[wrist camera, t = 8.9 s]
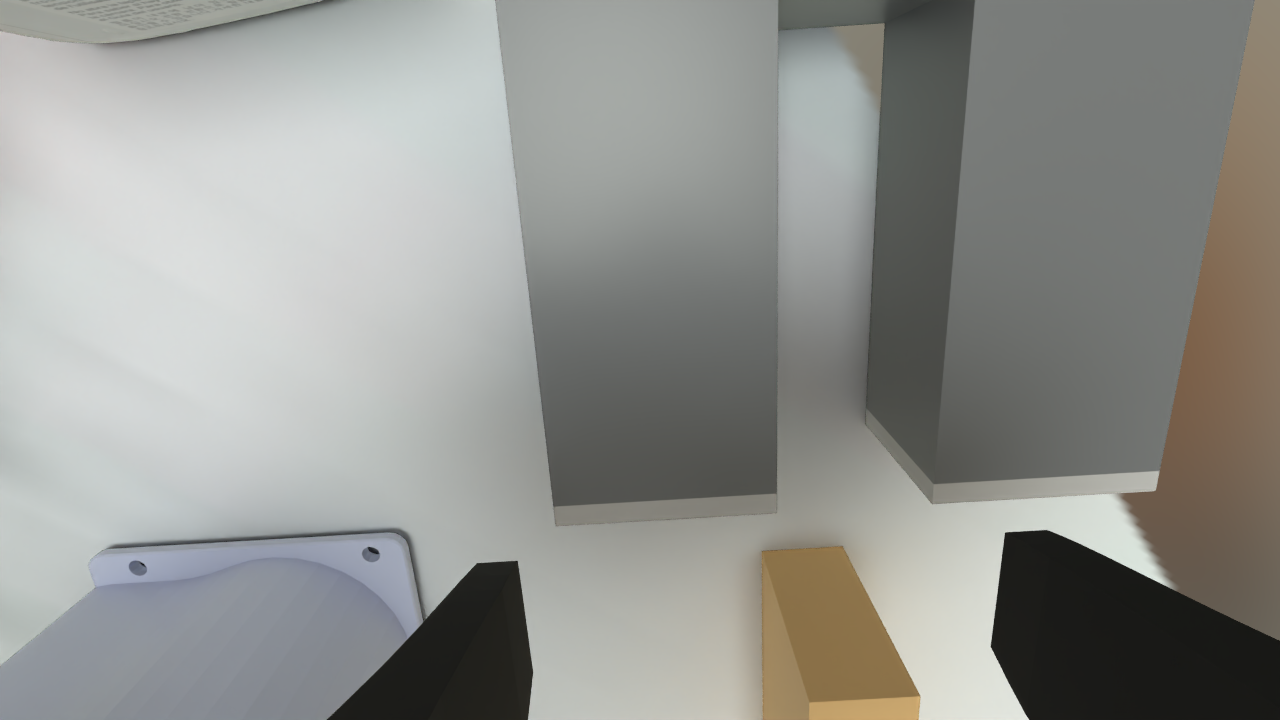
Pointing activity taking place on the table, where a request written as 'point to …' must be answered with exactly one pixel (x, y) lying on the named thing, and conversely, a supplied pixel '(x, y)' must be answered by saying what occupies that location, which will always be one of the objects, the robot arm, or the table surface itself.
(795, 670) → the tan rectangular block
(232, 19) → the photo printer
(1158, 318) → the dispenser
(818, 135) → the table surface
